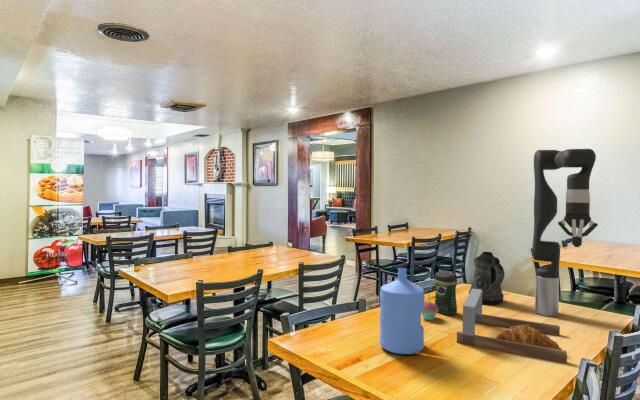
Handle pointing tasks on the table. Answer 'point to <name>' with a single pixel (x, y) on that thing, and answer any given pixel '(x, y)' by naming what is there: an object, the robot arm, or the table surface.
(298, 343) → the table surface
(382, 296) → the water jug
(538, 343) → the pastry
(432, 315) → the cupcake
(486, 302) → the beer stein
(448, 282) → the coffee jar
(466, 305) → the two-rail open rack
